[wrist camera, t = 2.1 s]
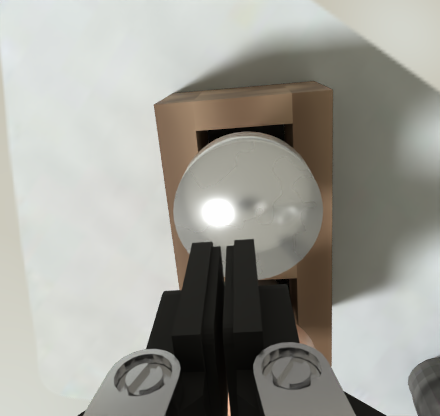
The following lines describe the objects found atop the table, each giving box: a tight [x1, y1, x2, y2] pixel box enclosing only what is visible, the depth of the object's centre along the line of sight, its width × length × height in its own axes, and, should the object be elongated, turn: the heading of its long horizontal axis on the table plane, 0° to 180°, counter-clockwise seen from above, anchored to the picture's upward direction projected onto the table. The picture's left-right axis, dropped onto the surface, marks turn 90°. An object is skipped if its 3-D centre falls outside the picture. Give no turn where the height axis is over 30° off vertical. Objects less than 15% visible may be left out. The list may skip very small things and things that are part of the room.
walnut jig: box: [154, 81, 333, 366], centre depth 27 cm, size 9×17×6 cm, turn 5°
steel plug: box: [173, 132, 323, 280], centre depth 20 cm, size 6×6×8 cm
